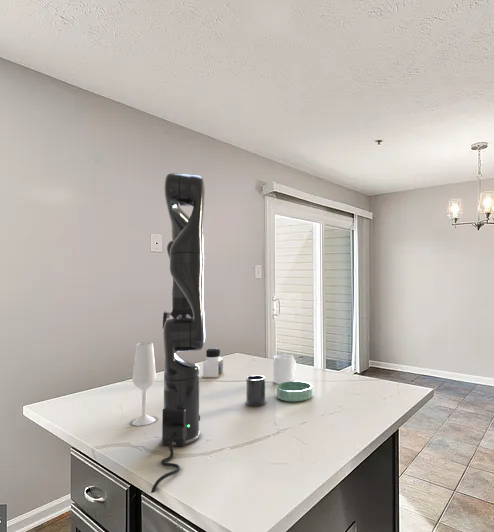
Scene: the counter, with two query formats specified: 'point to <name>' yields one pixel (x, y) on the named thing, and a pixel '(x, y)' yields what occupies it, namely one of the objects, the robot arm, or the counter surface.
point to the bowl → (294, 391)
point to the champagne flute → (144, 376)
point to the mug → (283, 368)
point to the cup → (255, 390)
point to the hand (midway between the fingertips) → (184, 339)
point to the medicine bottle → (213, 363)
